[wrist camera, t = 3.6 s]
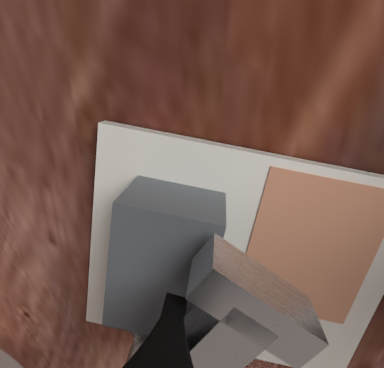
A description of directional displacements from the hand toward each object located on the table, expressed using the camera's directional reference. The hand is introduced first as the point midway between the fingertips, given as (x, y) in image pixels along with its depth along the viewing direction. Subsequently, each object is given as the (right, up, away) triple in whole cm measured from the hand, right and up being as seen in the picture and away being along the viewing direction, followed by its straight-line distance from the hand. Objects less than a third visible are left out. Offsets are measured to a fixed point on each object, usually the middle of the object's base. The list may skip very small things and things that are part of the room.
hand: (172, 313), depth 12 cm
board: (+3, +1, +6) cm, 7 cm away
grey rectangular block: (0, +2, +5) cm, 6 cm away
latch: (+1, -1, +6) cm, 6 cm away
